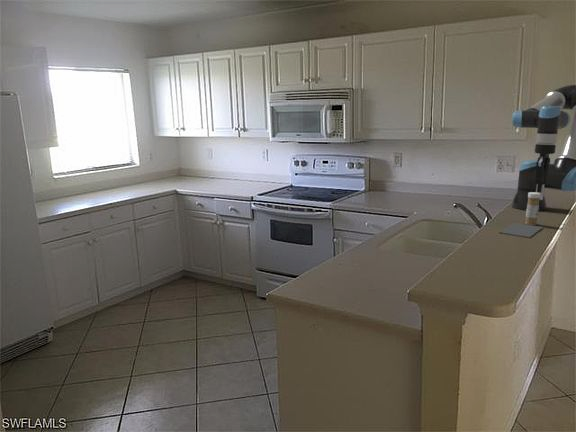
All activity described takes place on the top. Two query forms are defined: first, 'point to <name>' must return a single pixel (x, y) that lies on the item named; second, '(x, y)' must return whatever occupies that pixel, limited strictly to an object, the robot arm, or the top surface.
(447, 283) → the top surface
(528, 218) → the sprinkles bottle
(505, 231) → the mat
